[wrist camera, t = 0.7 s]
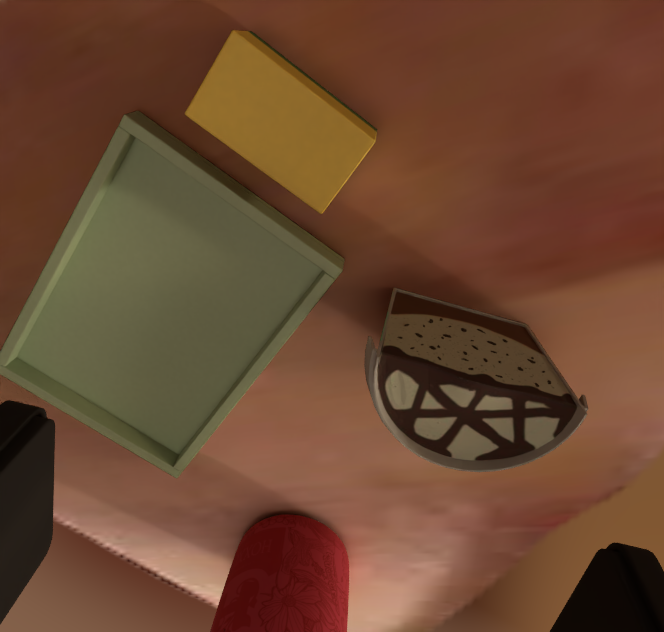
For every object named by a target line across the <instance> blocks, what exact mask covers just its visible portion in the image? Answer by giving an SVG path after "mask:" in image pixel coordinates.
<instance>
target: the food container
mask: <svg viewBox="0 0 664 632" xmlns="http://www.w3.org/2000/svg"><path fill="white" fill-rule="evenodd" d="M365 374H366V381H367V385H368V388H369V391H370V394H371V397H372V400H373V403H374V406H375V409H376V411H377V413H378V414H379V416H380V418H381V420H382V422H383V423H384V424H385V426H386V427H387V428H388V430H389V431H390V432H391V433H392V434H393V435H394V437H395V438H396V439H397V440H398V441H399V442H401V443H402V444H403V445H404V446H405V447H406V448H407V449H409V450H410V451H412V452H413V453H415V454H416V455H417V456H419V457H421V458H423V459H425V460H427V461H429V462H431V463H434V464H437V465H440V466H443V467H446V468H451V469H456V470H461V471H471V472H489V471H499V470H505V469H510V468H514V467H517V466H521V465H524V464H527V463H529V462H532V461H534V460H536V459H538V458H541V457H543V456H544V455H546V454H548V453H549V452H551V451H552V450H554V449H556V448H557V447H558V446H559V445H561V444H562V443H563V442H564V441H566V440H567V439H568V438H569V437H570V436H571V435H572V434H573V433H574V432H575V431H576V429H577V428H578V427H579V426H580V425H581V423H582V422H583V420H584V419H585V417H586V416H587V413H586V411H587V410H588V405H587V401H586V397H585V395H582V396H581V397H580V399H579V400H578V398H577V397H576V395H575V394H574V392H573V391H572V389H571V388H570V386H569V385H568V383H567V382H566V380H565V379H564V377H563V376H562V375H561V373H560V372H559V370H558V369H557V367H556V366H555V364H554V363H553V361H552V360H551V358H550V357H549V355H548V354H547V352H546V351H545V350H544V348H543V347H542V345H541V344H540V342H539V341H538V339H537V338H536V336H535V335H534V333H533V332H532V330H531V329H530V327H529V326H528V325H527V324H524V323H520V322H516V321H513V320H509V319H506V318H502V317H498V316H495V315H491V314H488V313H484V312H480V311H477V310H473V309H470V308H466V307H463V306H459V305H455V304H452V303H448V302H445V301H441V300H437V299H434V298H430V297H427V296H423V295H419V294H416V293H412V292H409V291H405V290H401V289H398V288H393V292H392V296H391V300H390V304H389V308H388V312H387V316H386V320H385V323H384V327H383V331H382V335H381V339H380V343H379V347H378V349H375V346H374V343H373V340H372V337H371V336H368V341H367V345H366V350H365Z"/></svg>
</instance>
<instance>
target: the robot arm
mask: <svg viewBox="0 0 664 632" xmlns="http://www.w3.org/2000/svg"><path fill="white" fill-rule="evenodd" d="M54 449H55V423H54V421H53V420H51V419H47V416H46V412H45V410H44V409H43V408H40V407H36V406H32V405H27V404H23V403H19V402H15V401H10V400H9V401H5V402H4V403H2V404H1V405H0V624H1V623H2V621H3V619H4V618H5V617H6V615H7V613H8V612H9V610H10V609H11V607H12V606H13V604H14V603H15V601H16V600H17V598H18V597H19V595H20V594H21V592H22V591H23V589H24V588H25V586H26V585H27V583H28V582H29V580H30V579H31V577H32V576H33V574H34V573H35V571H36V570H37V568H38V567H39V565H40V564H41V562H42V561H43V559H44V557H45V556H46V554H47V552H48V550H49V547H50V544H51V540H52V534H53V493H54ZM550 632H664V571H663V569H662V567H661V565H660V563H659V562H658V560H657V558H656V557H655V555H654V554H653V553H652V552H650V551H649V550H646V549H641V548H638V547H633V546H629V545H625V544H620V543H612V544H610V545H609V546H608V547H607V548H606V549H600V550H598V552H597V553H596V554H595V556H594V558H593V559H592V561H591V563H590V564H589V566H588V568H587V569H586V571H585V573H584V575H583V576H582V578H581V580H580V581H579V583H578V585H577V586H576V588H575V590H574V591H573V593H572V595H571V597H570V598H569V600H568V602H567V603H566V605H565V607H564V609H563V610H562V612H561V613H560V615H559V617H558V619H557V620H556V622H555V624H554V625H553V627H552V629H551V630H550Z"/></svg>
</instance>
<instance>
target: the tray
mask: <svg viewBox="0 0 664 632" xmlns="http://www.w3.org/2000/svg"><path fill="white" fill-rule="evenodd" d="M344 261H345V259H344V258H342V257H341V256H340V255H338V254H337V253H335V252H334V251H333V250H331V249H330V248H329V247H327V246H326V245H324V244H323V243H322V242H320V241H319V240H317V239H316V238H315V237H313V236H312V235H310V234H309V233H308V232H306V231H305V230H303V229H302V228H301V227H299V226H298V225H297V224H295V223H294V222H292V221H291V220H290V219H288V218H287V217H285V216H284V215H283V214H281V213H280V212H278V211H277V210H276V209H274V208H273V207H272V206H270V205H269V204H267V203H266V202H265V201H263V200H262V199H260V198H259V197H258V196H256V195H255V194H253V193H252V192H251V191H249V190H248V189H247V188H245V187H244V186H242V185H241V184H240V183H238V182H237V181H235V180H234V179H233V178H231V177H230V176H228V175H227V174H226V173H224V172H223V171H222V170H220V169H219V168H217V167H216V166H215V165H213V164H212V163H210V162H209V161H208V160H206V159H205V158H203V157H202V156H201V155H199V154H198V153H196V152H195V151H194V150H192V149H191V148H190V147H188V146H187V145H185V144H184V143H183V142H181V141H180V140H178V139H177V138H176V137H174V136H173V135H171V134H170V133H169V132H167V131H166V130H165V129H163V128H162V127H160V126H159V125H158V124H156V123H155V122H153V121H152V120H151V119H149V118H148V117H146V116H145V115H144V114H142V113H141V112H140V111H135V112H132V113H128V114H125V115H124V116H123V118H122V120H121V122H120V124H119V126H118V128H117V130H116V131H115V133H114V135H113V137H112V139H111V141H110V143H109V145H108V147H107V149H106V151H105V152H104V154H103V156H102V158H101V160H100V162H99V164H98V166H97V168H96V170H95V172H94V173H93V175H92V177H91V179H90V181H89V183H88V185H87V187H86V189H85V191H84V193H83V194H82V196H81V198H80V200H79V202H78V204H77V206H76V208H75V210H74V212H73V213H72V215H71V217H70V219H69V221H68V223H67V225H66V227H65V229H64V231H63V233H62V234H61V236H60V238H59V240H58V242H57V244H56V246H55V248H54V250H53V252H52V254H51V255H50V257H49V259H48V261H47V263H46V265H45V267H44V269H43V271H42V273H41V275H40V276H39V278H38V280H37V282H36V284H35V286H34V288H33V290H32V292H31V294H30V296H29V297H28V299H27V301H26V303H25V305H24V307H23V309H22V311H21V313H20V315H19V317H18V318H17V320H16V322H15V324H14V326H13V328H12V330H11V332H10V334H9V336H8V338H7V339H6V341H5V343H4V345H3V347H2V349H1V351H0V374H1V375H2V376H4V377H6V378H8V379H9V380H11V381H13V382H14V383H16V384H18V385H19V386H21V387H23V388H24V389H26V390H28V391H30V392H31V393H33V394H35V395H36V396H38V397H40V398H41V399H43V400H45V401H46V402H48V403H50V404H52V405H53V406H55V407H57V408H58V409H60V410H62V411H63V412H65V413H67V414H68V415H70V416H72V417H74V418H75V419H77V420H79V421H80V422H82V423H84V424H85V425H87V426H89V427H90V428H92V429H94V430H96V431H97V432H99V433H101V434H102V435H104V436H106V437H107V438H109V439H111V440H112V441H114V442H116V443H118V444H119V445H121V446H123V447H124V448H126V449H128V450H129V451H131V452H133V453H134V454H136V455H138V456H139V457H141V458H143V459H145V460H146V461H148V462H150V463H151V464H153V465H155V466H156V467H158V468H160V469H161V470H163V471H165V472H167V473H168V474H170V475H172V476H173V477H175V478H178V477H179V475H180V474H181V473H182V472H183V470H184V469H185V468H186V467H187V465H188V464H189V463H190V462H191V460H192V459H193V458H194V457H195V455H196V454H197V453H198V452H199V450H200V449H201V448H202V447H203V445H204V444H205V443H206V442H207V440H208V439H209V438H210V437H211V435H212V434H213V433H214V431H215V430H216V429H217V428H218V426H219V425H220V424H221V423H222V421H223V420H224V419H225V418H226V416H227V415H228V414H229V413H230V411H231V410H232V409H233V408H234V406H235V405H236V404H237V403H238V401H239V400H240V399H241V398H242V396H243V395H244V394H245V393H246V391H247V390H248V389H249V388H250V386H251V385H252V384H253V383H254V381H255V380H256V379H257V378H258V376H259V375H260V374H261V372H262V371H263V370H264V369H265V367H266V366H267V365H268V364H269V362H270V361H271V360H272V359H273V357H274V356H275V355H276V354H277V352H278V351H279V350H280V349H281V347H282V346H283V345H284V344H285V342H286V341H287V340H288V339H289V337H290V336H291V335H292V334H293V332H294V331H295V330H296V329H297V327H298V326H299V325H300V324H301V322H302V321H303V320H304V319H305V317H306V316H307V315H308V314H309V312H310V311H311V310H312V308H313V307H314V306H315V305H316V303H317V302H318V301H319V300H320V298H321V297H322V296H323V295H324V293H325V292H326V291H327V290H328V288H329V287H330V286H331V285H332V283H333V282H334V281H335V279H336V278H337V277H338V276H339V275H340V273H341V272H342V270H343V265H344Z"/></svg>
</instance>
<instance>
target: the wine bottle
mask: <svg viewBox="0 0 664 632" xmlns="http://www.w3.org/2000/svg"><path fill="white" fill-rule="evenodd" d="M348 595H349V561H348V555H347V552H346V549H345V546H344V544H343V543H342V541H341V540H340V538H339V537H338V536H337V535H336V534H335V533H334V532H333V531H332V530H331V529H330V528H328V527H327V526H326V525H324V524H322V523H321V522H318V521H316V520H314V519H311V518H308V517H304V516H299V515H277V516H273V517H269V518H266V519H264V520H262V521H260V522H258V523H256V524H255V525H253V526H252V527H251V528H250V529H249V530H248V531H247V532H246V534H245V535H244V536H243V538H242V540H241V542H240V544H239V546H238V549H237V551H236V554H235V557H234V560H233V562H232V565H231V568H230V571H229V574H228V577H227V580H226V583H225V586H224V589H223V593H222V596H221V599H220V602H219V605H218V608H217V612H216V615H215V618H214V621H213V625H212V628H211V631H210V632H347V618H348Z"/></svg>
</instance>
